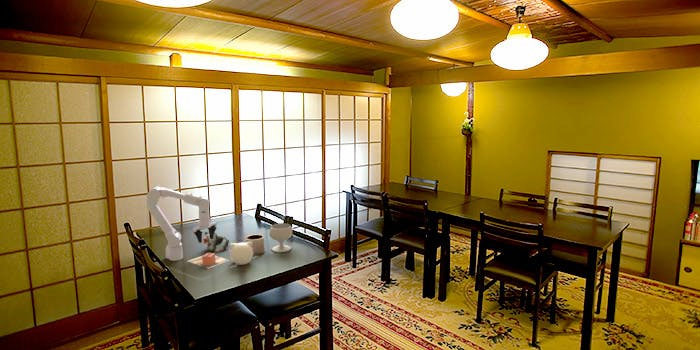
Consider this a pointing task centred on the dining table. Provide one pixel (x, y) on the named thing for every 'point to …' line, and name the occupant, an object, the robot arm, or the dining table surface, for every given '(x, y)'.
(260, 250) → the planter
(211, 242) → the lucky cat figurine
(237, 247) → the cat head
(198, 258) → the board
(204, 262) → the strapped orange box
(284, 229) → the chalice
